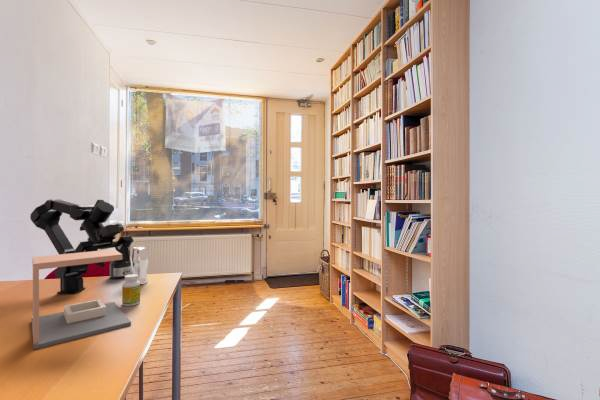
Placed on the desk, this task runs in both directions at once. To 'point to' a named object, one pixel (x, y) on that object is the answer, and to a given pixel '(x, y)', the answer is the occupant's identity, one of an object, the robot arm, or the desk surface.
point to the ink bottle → (120, 268)
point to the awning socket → (75, 316)
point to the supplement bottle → (131, 290)
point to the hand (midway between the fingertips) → (116, 264)
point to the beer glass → (140, 263)
